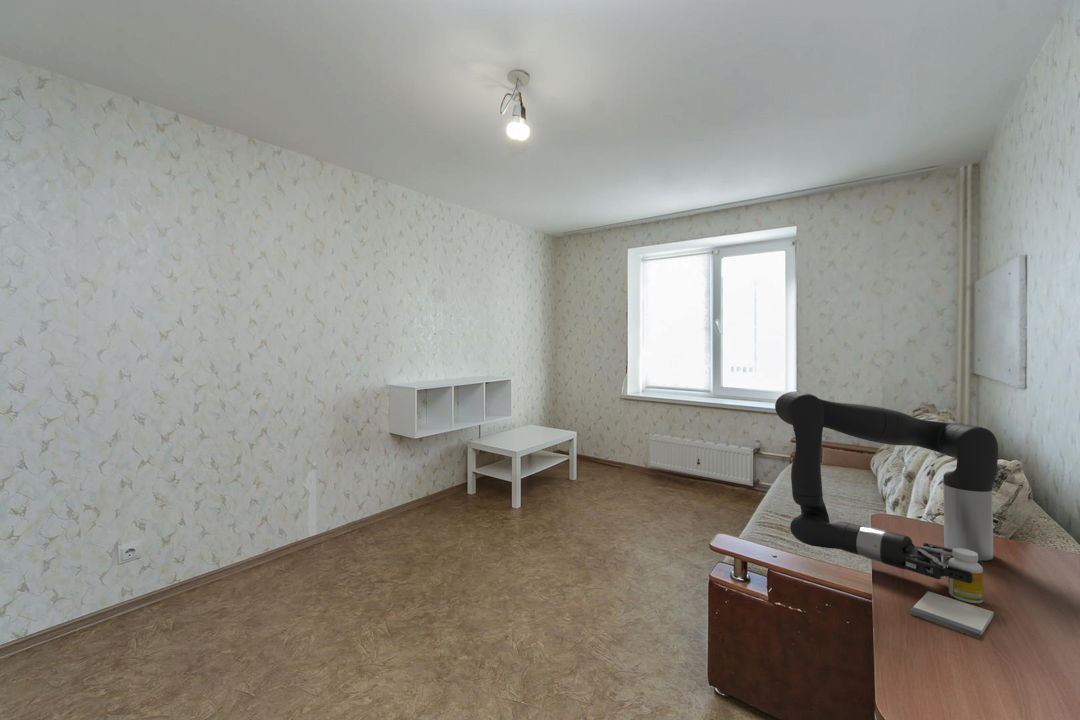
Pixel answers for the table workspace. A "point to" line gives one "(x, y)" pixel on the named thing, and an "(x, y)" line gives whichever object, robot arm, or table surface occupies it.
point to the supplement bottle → (962, 589)
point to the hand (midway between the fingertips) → (977, 572)
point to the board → (952, 614)
